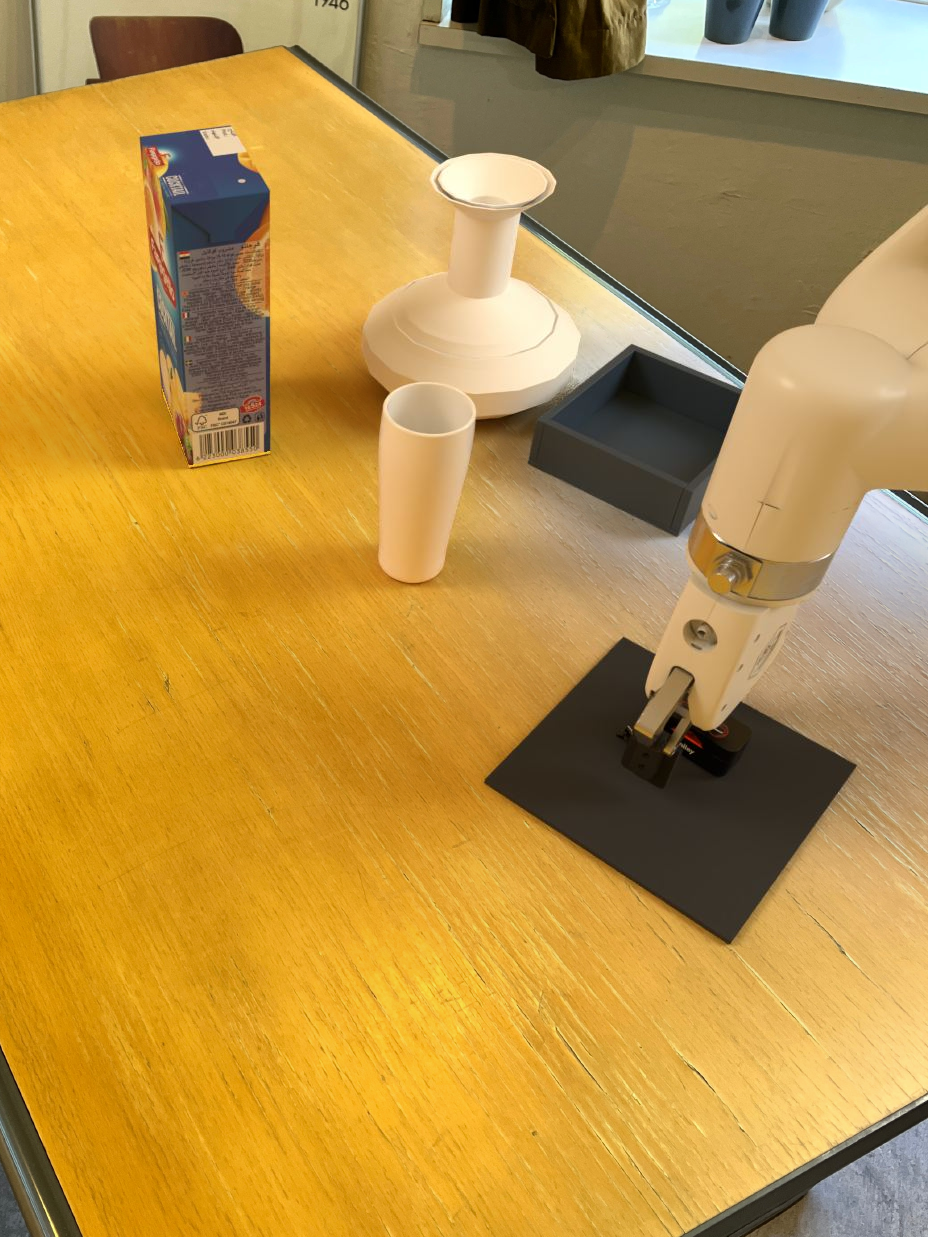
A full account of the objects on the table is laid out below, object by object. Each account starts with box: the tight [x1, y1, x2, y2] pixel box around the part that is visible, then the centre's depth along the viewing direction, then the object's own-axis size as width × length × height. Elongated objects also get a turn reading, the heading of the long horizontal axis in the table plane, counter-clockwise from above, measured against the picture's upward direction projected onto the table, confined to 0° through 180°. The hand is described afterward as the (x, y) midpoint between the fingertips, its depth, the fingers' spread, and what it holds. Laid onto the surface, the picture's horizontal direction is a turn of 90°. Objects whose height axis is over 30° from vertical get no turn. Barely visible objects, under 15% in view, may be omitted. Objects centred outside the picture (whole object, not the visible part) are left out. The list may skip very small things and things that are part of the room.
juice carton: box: [138, 125, 272, 465], centre depth 95 cm, size 12×8×24 cm, turn 15°
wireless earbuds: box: [616, 693, 752, 777], centre depth 76 cm, size 5×7×3 cm, turn 44°
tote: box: [527, 343, 743, 538], centre depth 98 cm, size 15×16×5 cm
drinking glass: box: [377, 382, 476, 584], centre depth 85 cm, size 7×7×15 cm
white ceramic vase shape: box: [361, 152, 582, 421], centre depth 101 cm, size 20×20×19 cm
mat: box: [483, 636, 858, 945], centre depth 77 cm, size 18×18×1 cm
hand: (680, 731), depth 77 cm, fingers open, 9 cm apart
